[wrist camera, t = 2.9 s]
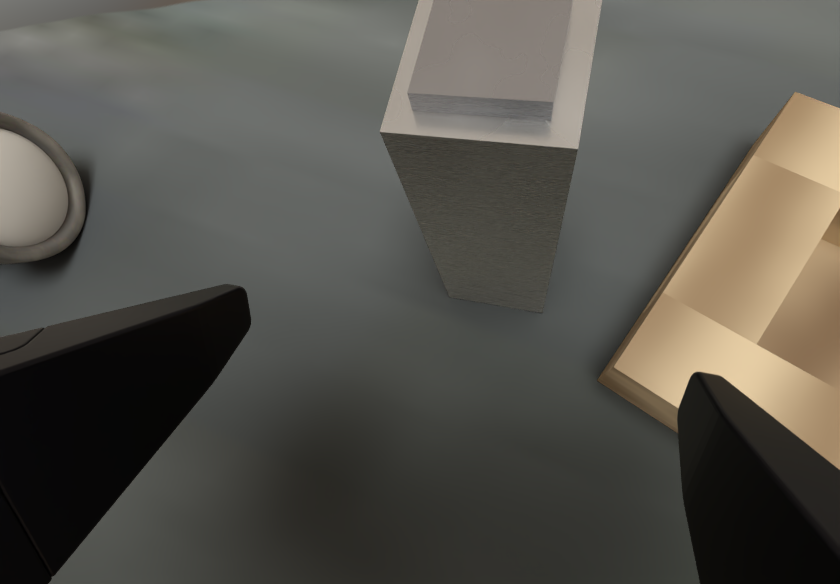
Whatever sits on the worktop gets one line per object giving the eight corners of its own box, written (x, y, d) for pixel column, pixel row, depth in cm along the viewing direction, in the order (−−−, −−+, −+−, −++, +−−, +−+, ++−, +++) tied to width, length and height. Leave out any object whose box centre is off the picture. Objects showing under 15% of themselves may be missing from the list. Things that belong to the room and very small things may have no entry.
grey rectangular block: (542, 313, 22) (581, 131, 9) (449, 297, 23) (372, 114, 10) (556, 227, 23) (608, -38, 11) (467, 215, 24) (418, -36, 12)
